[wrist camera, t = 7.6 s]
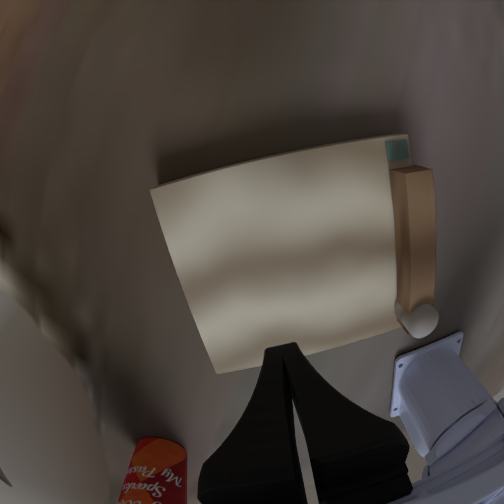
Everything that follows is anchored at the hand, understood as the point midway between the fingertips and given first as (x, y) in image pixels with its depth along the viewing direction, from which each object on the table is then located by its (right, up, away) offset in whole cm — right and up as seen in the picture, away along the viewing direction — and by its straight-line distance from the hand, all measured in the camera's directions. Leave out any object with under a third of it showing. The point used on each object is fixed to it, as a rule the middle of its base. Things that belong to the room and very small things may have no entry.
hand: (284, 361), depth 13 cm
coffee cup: (-12, -18, +16) cm, 27 cm away
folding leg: (+9, +5, +6) cm, 12 cm away
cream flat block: (+2, +5, +8) cm, 10 cm away
